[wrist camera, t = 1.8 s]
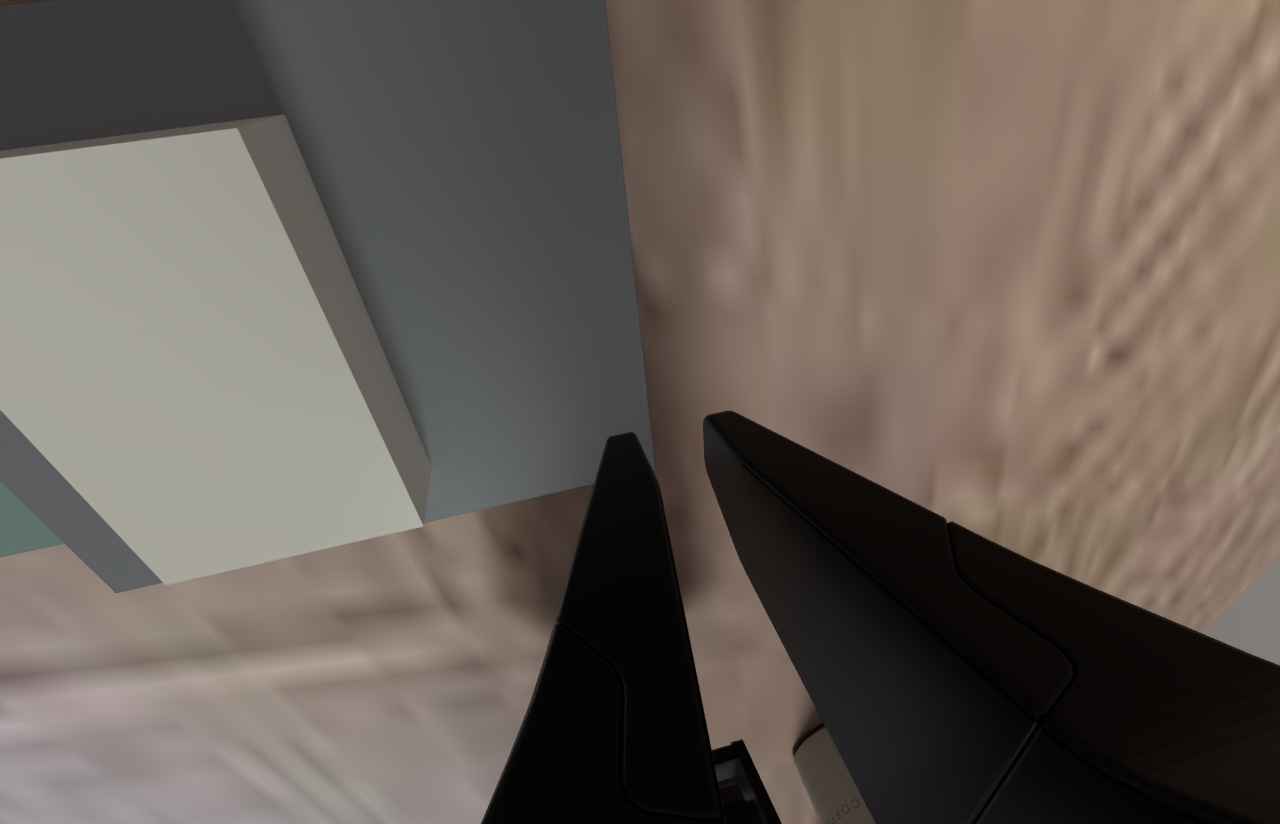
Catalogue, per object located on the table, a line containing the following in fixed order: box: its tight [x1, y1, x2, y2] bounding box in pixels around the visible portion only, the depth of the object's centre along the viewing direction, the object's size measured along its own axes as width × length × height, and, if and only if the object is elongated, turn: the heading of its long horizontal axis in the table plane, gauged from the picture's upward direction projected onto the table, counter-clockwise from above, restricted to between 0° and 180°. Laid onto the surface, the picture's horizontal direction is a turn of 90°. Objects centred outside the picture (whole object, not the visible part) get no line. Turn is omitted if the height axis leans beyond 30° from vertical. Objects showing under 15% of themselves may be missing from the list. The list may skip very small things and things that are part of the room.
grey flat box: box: [0, 0, 655, 593], centre depth 14 cm, size 13×16×4 cm
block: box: [0, 114, 432, 585], centre depth 12 cm, size 9×6×2 cm, turn 6°
